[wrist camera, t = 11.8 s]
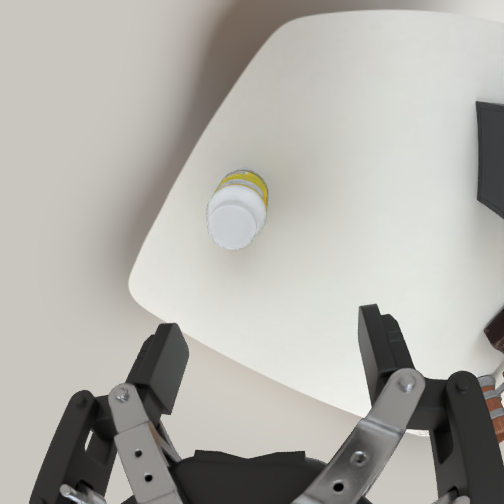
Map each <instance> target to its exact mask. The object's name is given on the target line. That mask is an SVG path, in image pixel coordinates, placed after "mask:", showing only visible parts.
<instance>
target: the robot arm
mask: <svg viewBox="0 0 504 504" xmlns="http://www.w3.org/2000/svg"><path fill="white" fill-rule="evenodd" d="M358 342H359V347H360V352H361V356H362V361H363V365H364V370H365V375H366V380H367V385H368V390H369V395H370V400H371V406H372V408H371V410H370V411H369V413H368V414H367V416H366V417H365V418H362V419H361V420H360V421H359V422H358V424H357V425H356V427H355V428H354V430H353V431H352V432H351V434H350V435H349V436H348V438H347V439H346V441H345V442H344V443H343V445H342V446H341V448H340V449H339V450H338V451H337V453H336V454H335V455H334V457H333V458H332V459H331V460H330V462H329V463H328V464H326V463H325V462H322V461H319V460H317V459H313V458H308V457H306V456H305V451H295V452H276V453H272V454H268V455H263V456H259V457H254V458H249V459H246V458H242V457H238V456H234V455H231V454H227V453H223V452H218V451H204V450H195V454H194V456H193V457H189V458H186V459H182V458H181V457H180V456H179V454H178V453H177V452H176V450H175V448H174V446H173V444H172V442H171V440H170V438H169V436H168V434H167V432H166V430H165V428H164V426H163V424H162V422H161V420H160V417H161V414H166V415H171V413H172V409H173V406H174V403H175V399H176V396H177V393H178V390H179V387H180V384H181V380H182V377H183V374H184V371H185V368H186V365H187V362H188V358H189V350H188V346H187V343H186V342H185V339H184V337H183V335H182V333H181V330H180V328H179V326H178V324H176V323H165V324H164V323H163V324H160V325H159V326H158V328H157V331H156V333H155V335H151V336H150V337H149V338H148V339H147V340H146V341H145V342H144V343H143V346H142V348H141V350H140V352H139V354H138V356H137V359H136V360H135V362H134V364H133V367H132V369H131V371H130V373H129V375H128V377H127V380H126V382H125V383H122V384H119V385H117V386H116V387H114V388H113V389H112V390H111V392H110V393H109V395H105V396H99V397H94V396H93V395H92V393H91V392H90V391H87V390H82V391H79V392H77V393H75V394H74V395H73V396H72V398H71V399H70V401H69V403H68V405H67V407H66V410H65V412H64V414H63V416H62V418H61V421H60V423H59V425H58V427H57V430H56V432H55V435H54V437H53V439H52V441H51V444H50V446H49V449H48V451H47V454H46V456H45V459H44V461H43V464H42V466H41V469H40V472H39V474H38V478H37V480H36V483H35V486H34V489H33V491H32V494H31V497H30V501H29V504H107V503H106V500H105V499H104V496H105V493H106V489H107V485H108V482H109V478H110V474H111V471H112V467H113V464H114V461H115V457H116V454H117V451H118V453H119V456H120V459H121V462H122V465H123V467H124V471H125V473H126V476H127V478H128V481H129V484H130V486H131V489H132V491H133V494H134V495H133V496H131V497H130V498H128V499H127V500H126V501H124V502H123V503H121V504H372V503H371V502H370V501H369V500H368V499H367V498H366V497H365V496H366V494H367V493H368V492H369V490H370V489H371V487H372V486H373V484H374V483H375V482H376V480H377V479H378V477H379V476H380V474H381V472H382V471H383V469H384V467H385V465H386V464H387V462H388V461H389V459H390V458H391V456H392V454H393V453H394V451H395V449H396V447H397V446H398V444H399V442H400V440H401V439H402V437H403V435H404V433H405V431H406V430H407V429H415V430H429V435H430V440H431V446H432V452H433V458H434V465H435V473H436V481H437V490H438V500H436V501H435V502H433V503H432V504H504V465H503V460H502V456H501V452H500V448H499V444H498V440H497V436H496V433H495V429H494V426H493V422H492V419H491V416H490V413H489V409H488V406H487V403H486V400H485V397H484V395H483V392H482V389H481V386H480V384H479V381H478V379H477V378H476V376H474V375H473V374H472V373H470V372H467V371H458V372H455V373H453V374H452V375H451V376H450V377H449V378H448V380H438V379H429V378H426V377H424V376H423V375H422V374H421V373H420V372H419V371H417V370H416V369H415V367H414V365H413V362H412V359H411V356H410V354H409V351H408V348H407V345H406V343H405V340H404V337H403V335H402V332H401V330H400V327H399V325H398V322H397V321H396V320H395V319H394V318H393V317H392V316H391V315H390V314H386V315H381V314H380V311H379V309H378V306H377V304H371V305H364V306H359V317H358ZM90 430H91V431H92V432H93V434H92V436H91V439H90V442H89V445H88V448H87V450H86V451H85V443H86V440H87V437H88V435H89V432H90Z"/></svg>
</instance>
